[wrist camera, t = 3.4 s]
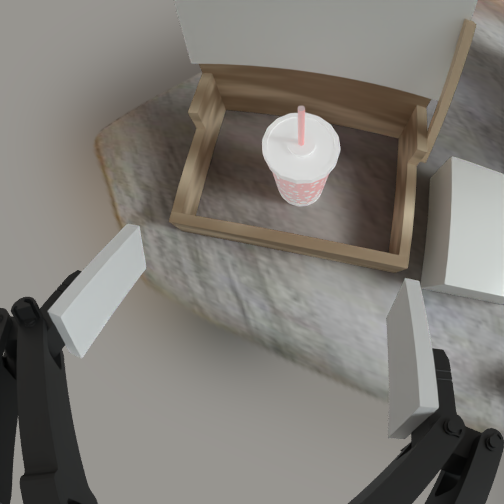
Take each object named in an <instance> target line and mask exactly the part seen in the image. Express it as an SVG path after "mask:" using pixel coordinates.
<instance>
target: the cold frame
mask: <svg viewBox="0 0 504 504" xmlns="http://www.w3.org/2000/svg"><path fill="white" fill-rule="evenodd" d="M199 65H200V68H201V70H202V73H203V74H202V76H201V79H200V81H199V84H198V86H197V89H196V92H195V94H194V97H193V100H192V102H191V105H190V108H189V110H188V114H189V116H190V117H191V119H192V121H193V123H194V124H195V126H196V131H195V134H194V137H193V140H192V143H191V147H190V150H189V153H188V156H187V159H186V163H185V166H184V169H183V173H182V176H181V179H180V183H179V186H178V190H177V193H176V197H175V200H174V204H173V208H172V211H171V215H170V219H169V222H170V223H171V224H173V225H174V226H176V227H177V228H179V229H180V230H182V231H185V232H190V233H195V234H200V235H205V236H211V237H216V238H221V239H226V240H231V241H236V242H242V243H247V244H252V245H257V246H262V247H267V248H272V249H277V250H282V251H287V252H292V253H297V254H303V255H308V256H313V257H318V258H323V259H328V260H333V261H338V262H343V263H348V264H353V265H358V266H362V267H367V268H372V269H377V270H382V271H387V272H392V273H396V272H399V271H402V270H405V269H408V263H409V256H410V248H411V240H412V230H413V220H414V208H415V194H416V176H417V165H418V164H419V162H420V161H421V160H422V158H423V157H424V156H425V155H426V153H427V111H426V108H427V106H428V104H429V102H430V101H431V99H429V98H426V97H423V96H419V95H416V94H412V93H409V92H405V91H401V90H398V89H394V88H390V87H386V86H381V85H377V84H373V83H368V82H364V81H359V80H354V79H349V78H344V77H338V76H333V75H327V74H321V73H314V72H307V71H300V70H292V69H283V68H273V67H262V66H249V65H231V64H199ZM299 106H304V107H305V112H306V113H309V114H313V115H316V116H319V117H321V118H322V119H324V120H325V121H326V122H328V123H329V124H335V125H340V126H345V127H350V128H355V129H359V130H364V131H369V132H373V133H377V134H382V135H386V136H390V137H394V138H398V161H397V177H396V190H395V201H394V211H393V220H392V229H391V237H390V245H389V252H388V253H386V252H382V251H377V250H372V249H367V248H362V247H358V246H353V245H348V244H343V243H338V242H333V241H328V240H323V239H318V238H313V237H308V236H303V235H298V234H292V233H287V232H282V231H277V230H271V229H266V228H261V227H255V226H250V225H245V224H239V223H234V222H228V221H223V220H217V219H212V218H206V217H200V216H196V213H197V209H198V205H199V202H200V198H201V194H202V190H203V187H204V183H205V179H206V176H207V172H208V169H209V165H210V162H211V158H212V155H213V151H214V148H215V144H216V141H217V138H218V134H219V131H220V128H221V124H222V121H223V118H224V115H225V111H226V110H233V111H244V112H254V113H262V114H271V115H278V116H285V115H287V114H290V113H298V107H299Z"/></svg>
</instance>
